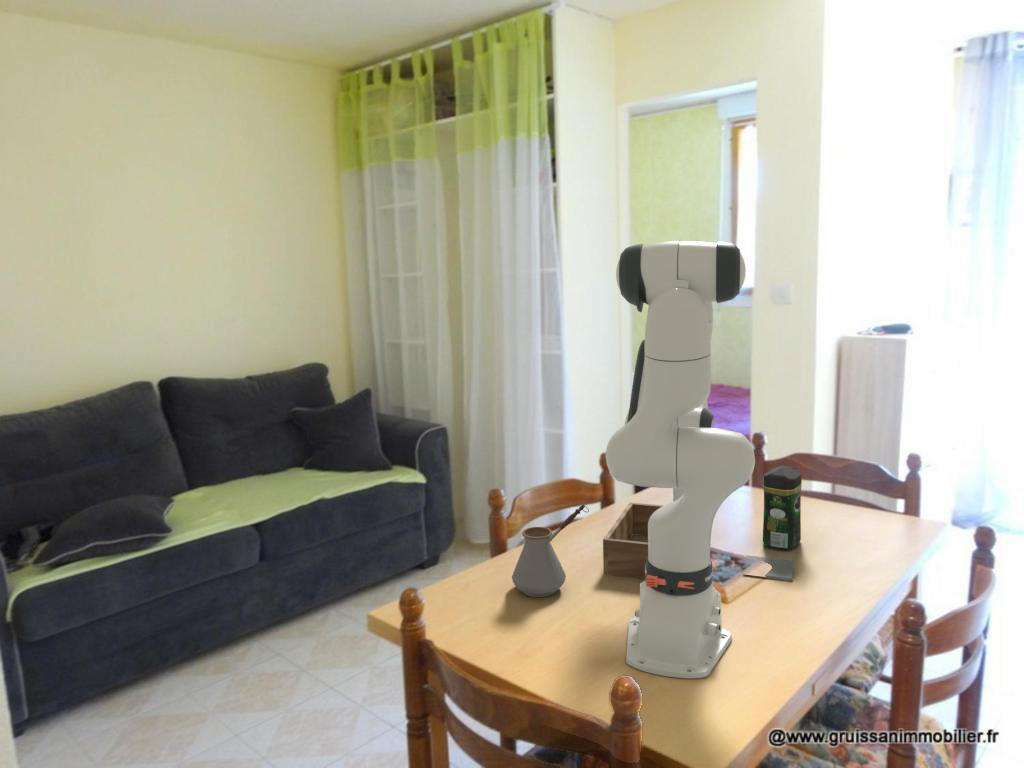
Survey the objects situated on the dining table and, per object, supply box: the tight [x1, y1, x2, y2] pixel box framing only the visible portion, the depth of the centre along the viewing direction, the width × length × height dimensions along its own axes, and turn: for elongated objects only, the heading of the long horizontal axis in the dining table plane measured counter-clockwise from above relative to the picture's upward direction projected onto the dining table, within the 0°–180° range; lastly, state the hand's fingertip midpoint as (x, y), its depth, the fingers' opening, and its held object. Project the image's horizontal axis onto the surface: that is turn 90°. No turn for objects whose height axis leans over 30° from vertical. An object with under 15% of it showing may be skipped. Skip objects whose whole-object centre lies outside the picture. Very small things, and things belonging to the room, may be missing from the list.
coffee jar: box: [762, 465, 802, 551], centre depth 174 cm, size 10×8×19 cm
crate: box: [602, 502, 664, 580], centre depth 171 cm, size 26×14×8 cm, turn 158°
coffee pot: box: [511, 504, 590, 598], centre depth 158 cm, size 21×12×15 cm, turn 133°
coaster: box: [746, 555, 794, 582], centre depth 161 cm, size 10×10×1 cm
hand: (688, 514), depth 166 cm, fingers closed on supplement bottle, 5 cm apart
